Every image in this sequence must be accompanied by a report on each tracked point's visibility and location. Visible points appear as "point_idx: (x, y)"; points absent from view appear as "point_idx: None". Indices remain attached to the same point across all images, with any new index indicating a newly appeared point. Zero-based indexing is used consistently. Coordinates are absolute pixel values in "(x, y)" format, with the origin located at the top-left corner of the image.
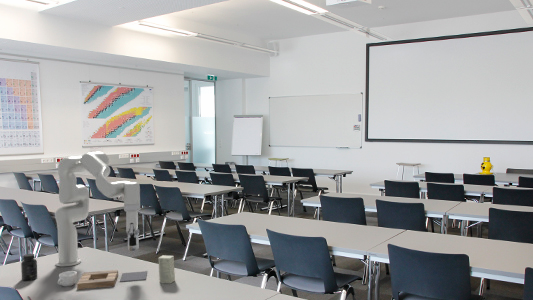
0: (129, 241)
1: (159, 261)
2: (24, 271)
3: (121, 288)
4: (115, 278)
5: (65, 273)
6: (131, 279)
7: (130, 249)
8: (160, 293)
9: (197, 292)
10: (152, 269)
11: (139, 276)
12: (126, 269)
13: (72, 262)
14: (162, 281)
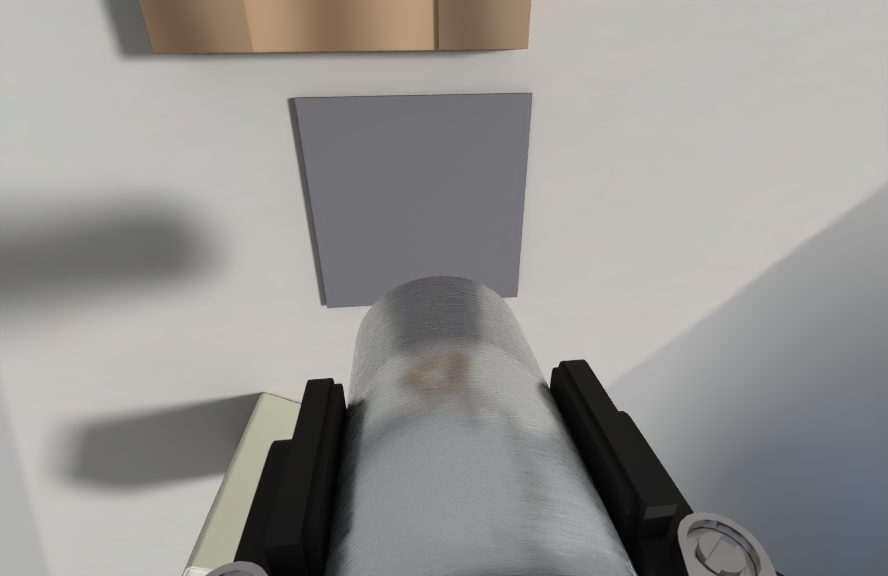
0: (293, 452)
1: (199, 537)
2: None
3: (122, 137)
4: (293, 51)
5: None
6: (331, 201)
7: (359, 334)
8: (47, 415)
9: (93, 562)
10: (563, 323)
11: (399, 256)
12: (652, 114)
13: None
14: (251, 414)
